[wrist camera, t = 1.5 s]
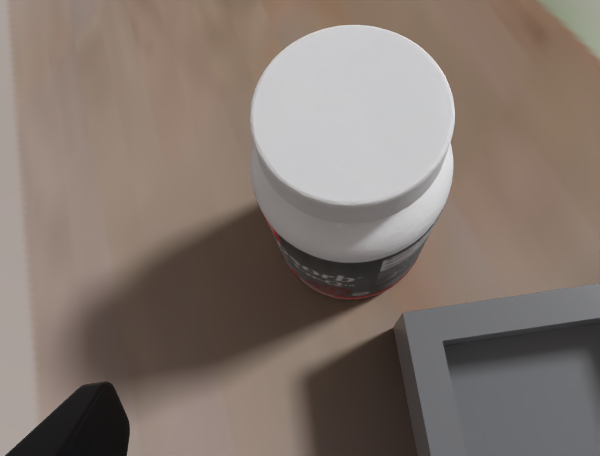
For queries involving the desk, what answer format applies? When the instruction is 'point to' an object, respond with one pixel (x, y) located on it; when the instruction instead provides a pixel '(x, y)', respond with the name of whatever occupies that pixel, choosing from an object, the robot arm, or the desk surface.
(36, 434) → the robot arm
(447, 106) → the pill bottle
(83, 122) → the desk surface
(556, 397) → the bottle holder
